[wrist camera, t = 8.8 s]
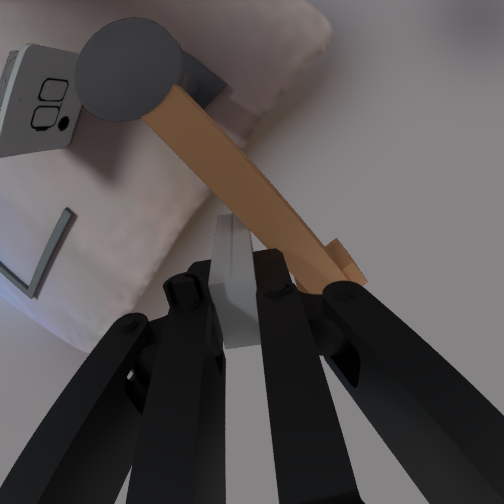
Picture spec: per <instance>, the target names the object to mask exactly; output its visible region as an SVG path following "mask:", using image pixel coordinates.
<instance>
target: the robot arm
mask: <svg viewBox="0 0 504 504" xmlns="http://www.w3.org/2000/svg"><path fill="white" fill-rule="evenodd" d="M163 288H164V291H165V294H166V297H167V300H168V303H169V306H170V309H169V312H168V315H166V316H164V317H161V318H158V319H155V320H152V321H150V322H149V321H148V318H147V316H145V315H144V314H142V313H129V314H126V315H124V316H122V317H121V318H119V319H118V320H116V321H115V322H114V323H113V325H112V326H111V327H110V328H109V330H108V331H107V332H106V334H105V335H104V336H103V337H102V339H101V340H100V341H99V343H98V344H97V345H96V347H95V348H94V349H93V351H92V352H91V353H90V355H89V356H88V357H87V359H86V360H85V361H84V363H83V364H82V365H81V367H80V368H79V369H78V371H77V372H76V373H75V375H74V376H73V378H72V379H71V380H70V382H69V383H68V385H67V386H66V387H65V389H64V390H63V392H62V393H61V394H60V396H59V397H58V399H57V400H56V402H55V403H54V405H53V406H52V407H51V409H50V410H49V412H48V413H47V415H46V416H45V418H44V419H43V420H42V422H41V423H40V425H39V426H38V428H37V429H36V431H35V432H34V434H33V436H32V437H31V439H30V440H29V442H28V443H27V445H26V447H25V448H24V450H23V451H22V453H21V454H20V456H19V458H18V459H17V461H16V462H15V464H14V466H13V467H12V469H11V471H10V472H9V474H8V476H7V477H6V479H5V481H4V482H3V484H2V486H1V488H0V504H114V503H115V501H116V499H117V496H118V494H119V492H120V490H121V488H122V486H123V483H124V481H125V479H126V477H127V475H128V473H129V470H130V468H131V466H132V469H131V475H130V480H129V486H128V492H127V498H126V504H226V481H225V384H226V358H225V355H224V351H223V341H224V345H225V348H226V349H230V348H238V347H245V346H252V345H259V344H261V348H262V356H263V365H264V374H265V383H266V391H267V400H268V409H269V417H270V427H271V436H272V444H273V452H274V461H275V471H276V479H277V487H278V497H279V504H365V503H364V502H363V501H362V500H361V498H360V495H359V492H358V489H357V485H356V481H355V477H354V473H353V470H352V466H351V463H350V459H349V455H348V452H347V448H346V445H345V441H344V437H343V434H342V430H341V427H340V424H339V420H338V417H337V414H336V410H335V406H334V403H333V400H332V396H331V393H330V390H329V386H328V383H327V380H326V377H325V373H324V370H323V367H322V364H321V360H320V357H319V355H321V356H322V355H323V356H324V358H325V361H326V362H327V364H328V365H329V366H330V368H331V369H332V370H333V372H334V373H335V375H336V376H337V377H338V379H339V380H340V382H341V383H342V384H343V386H344V387H345V388H346V390H347V391H348V392H349V394H350V395H351V397H352V398H353V399H354V401H355V402H356V404H357V405H358V406H359V408H360V409H361V410H362V412H363V413H364V414H365V416H366V417H367V419H368V420H369V422H370V423H371V424H372V426H373V427H374V428H375V430H376V431H377V432H378V434H379V435H380V437H381V438H382V439H383V441H384V442H385V443H386V445H387V446H388V448H389V449H390V450H391V452H392V453H393V454H394V456H395V457H396V459H397V460H398V461H399V463H400V464H401V465H402V467H403V468H404V469H405V471H406V472H407V474H408V475H409V476H410V478H411V479H412V480H413V482H414V483H415V485H416V486H417V487H418V489H419V490H420V491H421V493H422V494H423V495H424V497H425V498H426V500H427V501H428V502H429V504H504V416H503V415H502V414H501V413H500V412H499V411H498V410H497V409H496V408H495V407H494V406H493V405H492V404H491V403H490V402H489V401H488V400H487V399H486V398H485V397H484V396H483V395H482V394H481V393H480V392H479V391H478V390H477V389H476V388H475V387H474V386H473V385H472V384H471V383H470V382H469V381H468V380H467V379H466V378H464V377H463V376H462V375H461V374H460V373H459V372H458V371H457V370H456V369H455V368H454V367H453V366H452V365H450V363H448V362H447V361H446V360H445V359H444V358H443V357H442V356H441V355H440V354H439V353H438V352H436V351H435V350H434V349H433V348H432V347H431V346H430V345H429V344H428V343H427V342H425V341H424V340H423V339H422V338H421V337H420V336H419V335H418V334H417V333H416V332H414V331H413V330H412V329H411V328H410V327H409V326H408V325H407V324H405V323H404V322H403V321H402V320H401V319H400V318H398V317H397V316H396V315H395V314H394V313H393V312H392V311H390V310H389V309H388V308H387V307H386V306H385V305H384V304H382V303H381V302H380V301H379V300H378V299H377V298H375V297H374V296H373V295H372V294H371V293H370V292H368V291H367V290H366V289H365V288H364V287H362V286H361V285H360V284H358V283H356V282H352V281H346V280H344V281H343V280H342V281H336V282H332V283H330V284H328V285H326V287H325V288H324V289H323V291H322V294H308V293H304V292H301V291H299V290H298V289H297V287H296V285H295V284H294V283H292V280H291V277H290V274H289V271H288V268H287V265H286V261H285V258H284V255H283V253H282V252H281V251H279V250H278V249H277V248H274V249H267V250H261V251H255V252H253V246H252V240H251V235H250V230H249V229H248V228H247V226H246V225H245V224H244V223H243V222H242V221H241V220H240V219H239V218H238V217H237V216H236V215H235V214H234V213H232V214H225V215H220V216H218V219H217V227H216V233H215V240H214V246H213V253H212V259H211V260H205V261H199V262H194V263H193V264H192V265H191V266H190V267H189V269H188V271H187V272H184V273H180V274H177V275H175V276H173V277H171V278H169V279H168V280H167V281H165V283H164V284H163ZM130 371H132V373H133V375H132V377H131V378H130V379H128V378H127V376H128V374H129V372H130Z"/></svg>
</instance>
